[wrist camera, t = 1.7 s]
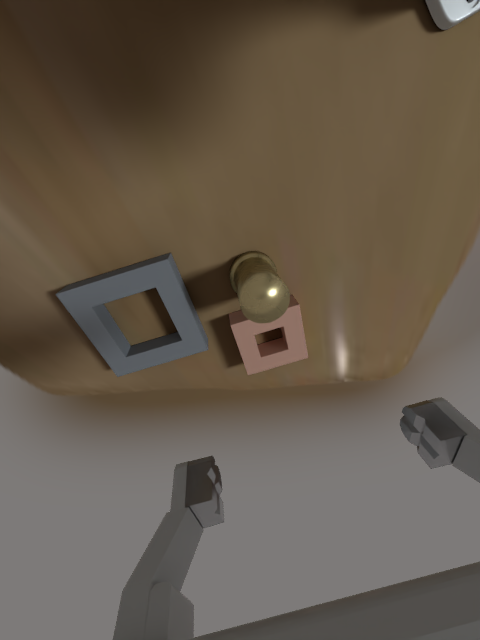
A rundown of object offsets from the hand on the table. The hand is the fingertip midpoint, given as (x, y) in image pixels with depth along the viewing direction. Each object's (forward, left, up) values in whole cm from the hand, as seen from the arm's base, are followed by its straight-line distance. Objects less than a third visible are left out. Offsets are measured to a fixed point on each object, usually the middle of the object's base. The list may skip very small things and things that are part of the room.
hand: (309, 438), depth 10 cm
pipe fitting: (-1, +2, -24) cm, 24 cm away
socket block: (+14, +3, -23) cm, 27 cm away
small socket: (-1, +11, -23) cm, 26 cm away
